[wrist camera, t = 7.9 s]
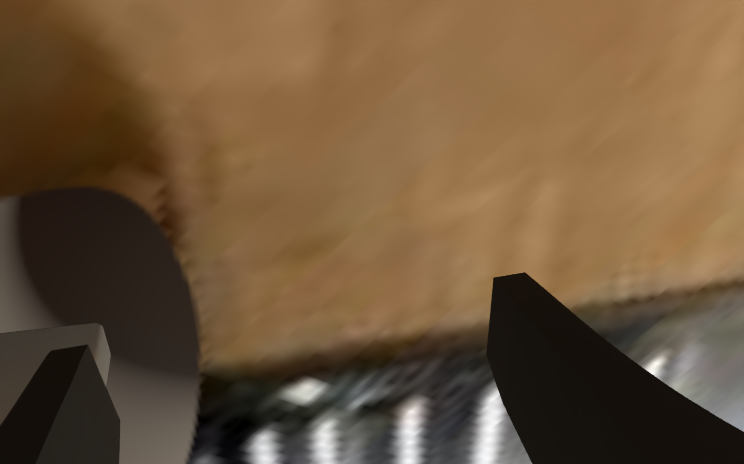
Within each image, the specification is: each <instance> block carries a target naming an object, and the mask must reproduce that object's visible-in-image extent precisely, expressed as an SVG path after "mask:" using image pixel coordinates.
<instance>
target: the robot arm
mask: <svg viewBox="0 0 744 464" xmlns="http://www.w3.org/2000/svg"><path fill="white" fill-rule="evenodd" d="M486 355H487V358H488V361H489V364H490V367H491V370H492V373H493V376H494V379H495V382H496V385H497V388H498V390H499V393H500V396H501V399H502V402H503V404H504V406H505V408H506V410H507V413H508V415H509V417H510V419H511V421H512V423H513V425H514V427H515V429H516V431H517V433H518V435H519V437H520V439H521V441H522V443H523V445H524V448H525V450H526V452H527V454H528V456H529V458H530V460H531V462H532V464H744V432H743V431H741V430H739V429H738V428H736V427H734V426H732V425H731V424H729V423H727V422H725V421H724V420H722V419H720V418H719V417H717V416H715V415H714V414H712V413H710V412H709V411H707V410H706V409H704V408H702V407H701V406H699V405H697V404H696V403H694V402H693V401H691V400H689V399H688V398H686V397H684V396H683V395H681V394H680V393H678V392H677V391H675V390H674V389H672V388H671V387H669V386H668V385H666V384H665V383H663V382H662V381H661V380H659V379H658V378H656V377H655V376H654V375H652V374H651V373H649V372H648V371H646V370H645V369H644V368H642V367H641V366H639V365H638V364H637V363H635V362H634V361H633V360H631V359H630V358H629V357H627V356H626V355H625V354H623V353H622V352H621V351H619V350H618V349H617V348H616V347H614V346H613V345H612V344H611V343H609V342H608V341H607V340H605V339H604V338H603V337H602V336H600V335H599V334H598V333H597V332H595V331H594V330H593V329H592V328H590V327H589V326H588V325H587V324H586V323H584V322H583V321H582V320H581V319H579V318H578V317H577V316H576V315H575V314H574V313H572V312H571V311H570V310H569V309H568V308H566V307H565V306H564V305H563V304H562V303H561V302H559V301H558V300H557V299H556V298H555V297H554V296H552V295H551V294H550V293H549V292H548V291H547V290H545V289H544V288H543V287H542V286H541V285H539V284H538V283H537V282H536V281H535V280H534V279H532V278H531V277H530V276H529V275H528V274H526V273H519V274H513V275H507V276H501V277H495V278H494V279H493V290H492V300H491V311H490V322H489V332H488V343H487V354H486ZM119 447H120V419H119V417H118V415H117V412H116V410H115V408H114V405H113V403H112V400H111V398H110V396H109V393H108V391H107V388H106V386H105V384H104V381H103V379H102V376H101V374H100V372H99V369H98V367H97V365H96V362H95V360H94V357H93V355H92V353H91V350H90V348H89V346H88V344H87V345H81V346H75V347H69V348H63V349H57V350H51V351H50V352H49V353H48V354H47V356H46V357H45V358H44V360H43V361H42V363H41V364H40V366H39V367H38V369H37V370H36V372H35V374H34V375H33V377H32V378H31V380H30V381H29V383H28V384H27V386H26V387H25V389H24V390H23V392H22V393H21V395H20V396H19V398H18V400H17V401H16V403H15V404H14V406H13V407H12V409H11V410H10V412H9V413H8V414H7V416H6V417H5V419H4V420H3V422H2V423H1V425H0V464H119V450H120V449H119Z"/></svg>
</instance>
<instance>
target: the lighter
mask: <svg viewBox="0 0 744 464" xmlns="http://www.w3.org/2000/svg"><path fill="white" fill-rule="evenodd" d="M87 344H88V346H89V348H90V350H91V353H92V355H93V357H94V360H95V362H96V365H97V367H98V369H99V372H100V374H101V376H102V379H103V381H104V384H105V386H106V381H107V375H108V369H109V362H110V356H111V355H110V351H109V348H108V344H107V341H106V337H105V334H104V330H103V327H102V326H101V325H99V324H97V323H90V324H81V325H72V326H62V327H53V328H44V329H35V330H26V331H17V332H8V333H0V425H1V423H2V422H3V420H4V419H5V417H6V416H7V414H8V413H9V412H10V410H11V409H12V407H13V406H14V404H15V403H16V401H17V400H18V398H19V396H20V395H21V393H22V392H23V390H24V389H25V387H26V386H27V384H28V383H29V381H30V380H31V378H32V377H33V375H34V374H35V372H36V370H37V369H38V367H39V366H40V364H41V363H42V361H43V360H44V358H45V357H46V356H47V354H48V353H49V352H50V351H51V350H57V349H63V348H69V347H75V346H81V345H87Z"/></svg>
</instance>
